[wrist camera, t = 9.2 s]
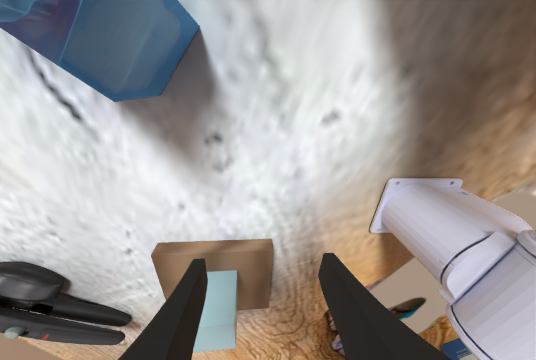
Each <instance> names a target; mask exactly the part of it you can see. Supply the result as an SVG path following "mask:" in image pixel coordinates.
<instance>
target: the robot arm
mask: <svg viewBox="0 0 536 360" xmlns="http://www.w3.org/2000/svg"><path fill="white" fill-rule="evenodd" d="M396 182H397V183H396ZM395 183H396V184H395ZM462 184H463V180H462V179H459V178H391V179H389V180H388V182H387V184H386V187H385V190H384V192H383V195H382V198H381V200H380V203H379V206H378V208H377V211H376V214H375V216H374V219H373V222H372V224H371V227H370V231H371V233H392V234H393V235H394V236H395V237H396V238H397V239H398V240H399V241H400V242H401V243H402V244H403V245H404V246H405V247H406V248H407V249H408V250H409V251H410V252H411V253H412V254H413V255H414V256H415V257H416V258H417V260H418V261H419V262H420V263H421V264H422V265H423V266H424V267H425V268H426V269H427V270H428V271H429V272H430V273H431V274H432V275H433V276H434V277H435V278H436V279H437V280H438V281H439V282H440V283H441V285H442V287H441V289H440V290H439V293H440V294H441V295H442V296H443V297H444V299H445V300H447V302H448V304H447V307H446V313H447V317H448V319H449V321H450V324H451V326H452V327H453V329H454V330H455V332H456V333H457V335H458V337H459V338H460V339H461V341H462V342H463V343H464V345H465V346H466V347H467V348H468V349H469V350H470V351H471V352H472V354H473V355H474V356H475V357H476V358H477V359H479V360H536V230H533V229H532V228H531V227H530V226H529V225H528V224H527V223H526V222H525V221H524V220H523V219H521V218H520V217H518V216H517V215H515V214H513V213H510V212H509V211H507V210H504V209H503V208H500V207H498V206H496V205H494V204H492V203H490V202H488V201H486V200H484V199H482V198H480V197H478V196H476V195H474V194H472V193H470V192H468V191H466V190H464V189H462V188H460V187H461V185H462ZM318 276H319V280H320V284H321V288H322V291H323V294H324V297H325V300H326V303H327V305H328V308H329V310H330V313H331V316H332V318H333V321H334V323H335V326H336V329H337V331H338V334H339V337H340V339H341V342H342V345H343V349H344V352H345V356H346V359H347V360H452V359H450V358H449V357H447V356H446V355H445V354H443V353H442V352H440V351H439V350H438V349H436V348H435V347H433V346H432V345H431V344H429V343H428V342H427V341H425V340H424V339H423V338H422V337H420V336H419V335H418V334H416V333H415V332H414V331H413V330H411V329H410V328H409V327H408V326H406V325H405V324H404V323H403V322H401V321H400V320H399V319H398V318H397V317H396V316H395V315H393V314H392V313H391V312H390V311H389V310H388V309H387V308H385V307H384V306H383V305H382V304H381V303H380V302H379V301H378V300H377V299H376V298H375V297H374V296H373V295H372V294H371V293H370V292H369V291H368V290H367V289H366V288H365V287H364V286H363V285H362V284H361V283H360V282H359V281H358V280H357V279H356V278H355V277H354V275H353V274H352V273H351V272H350V271H349V270H348V269H347V268H346V267H345V265H344V264H343V263H342V262H341V261H340V260H339V259H338V258H337V256H336V255H335V254H334V253H324V254H323V258H322V262H321V266H320V270H319V274H318ZM207 286H208V277H207V270H206V263H205V258H201V259H193V260H192V262H191V263H190V265H189V267H188V268H187V270H186V272H185V273H184V275H183V277H182V278H181V280H180V281H179V283H178V284H177V286H176V287H175V289H174V290H173V292H172V293H171V295H170V296H169V298H168V299H167V300H166V302H165V303H164V304H163V306H162V307H161V308H160V310H159V311H158V313H157V314H156V315H155V317H154V318H153V319H152V320H151V322H150V323H149V324H148V325H147V327H146V328H145V329H144V330H143V331H142V333H141V334H140V335H139V336H138V338H137V339H136V340H135V341H134V342H133V343H132V344H131V346H130V347H129V348H128V349H127V350H126V351H125V352H124V353H123V355H122V356H121V357H120V358H119V359H118V360H191V358H192V353H193V349H194V345H195V340H196V336H197V332H198V328H199V324H200V320H201V316H202V312H203V308H204V304H205V299H206V293H207Z"/></svg>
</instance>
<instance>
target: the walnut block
mask: <svg viewBox="0 0 536 360" xmlns="http://www.w3.org/2000/svg"><path fill="white" fill-rule="evenodd" d="M151 257H152V260H153V263H154V266H155V269H156V272H157V275H158V278H159V281H160V284H161V287H162V290H163V293H164V296H165V299H166V300H167V299H168V298H169V296H170V295H171V293H172V292H173V290H174V289H175V287H176V286H177V284H178V283H179V281H180V280H181V278H182V277H183V275H184V273H185V272H186V270H187V268H188V267H189V265H190V263H191V262H192V260H193V259H201V258H205V263H206V270H207V272H215V271H233V270H237V281H238V307H237V310H247V309H261V308H269V297H270V284H271V271H272V259H273V246H272V239H250V240H223V241H196V242H169V243H158V244H157V246H156V247H155V249H154V251H153V253H152V255H151Z"/></svg>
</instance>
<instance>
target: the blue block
mask: <svg viewBox="0 0 536 360" xmlns="http://www.w3.org/2000/svg"><path fill="white" fill-rule="evenodd" d="M207 277H208V286H207V293H206V299H205V304H204V308H203V312H202V316H201V320H200V324H199V328H198V332H197V336H196V340H195V345H194V349H193V353H194V352H204V351H214V350H224V349H234V348H236V331H237V307H238V281H237V270H233V271H215V272H207Z"/></svg>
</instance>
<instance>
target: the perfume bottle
mask: <svg viewBox="0 0 536 360" xmlns="http://www.w3.org/2000/svg"><path fill="white" fill-rule="evenodd" d="M199 27H200V26H199V25H198V24H197V23H196V21H195V20H194V19H193V18H192V17H191V16H190V14H189V13H188V12H187V11H186V10H185V8H184V7H183V6H182V5H181V4H180V3H179V1H178V0H0V28H2V29H3V30H5V31H6V32H8V33H9V34H11V35H12V36H14V37H15V38H17V39H18V40H20V41H21V42H23V43H24V44H26V45H27V46H29V47H31V48H32V49H34V50H35V51H37V52H38V53H40V54H41V55H43V56H44V57H46V58H47V59H49V60H50V61H52V62H53V63H55V64H56V65H58V66H59V67H61V68H62V69H64V70H66V71H67V72H69V73H70V74H72V75H73V76H75V77H76V78H78V79H80V80H81V81H83V82H84V83H86V84H87V85H89V86H90V87H92V88H94V89H95V90H97V91H98V92H100V93H101V94H103V95H104V96H106V97H108V98H109V99H111V100H112V101H114V102H118V101H125V100H132V99H139V98H146V97H153V96H160V95H161V93H162V91H163V90H164V88H165V86H166V84H167V83H168V81H169V79H170V77H171V76H172V74H173V72H174V70H175V69H176V67H177V65H178V63H179V62H180V60H181V58H182V56H183V55H184V53H185V51H186V50H187V48H188V46H189V44H190V43H191V41H192V39H193V37H194V36H195V34H196V32H197V30H198V29H199Z"/></svg>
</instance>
